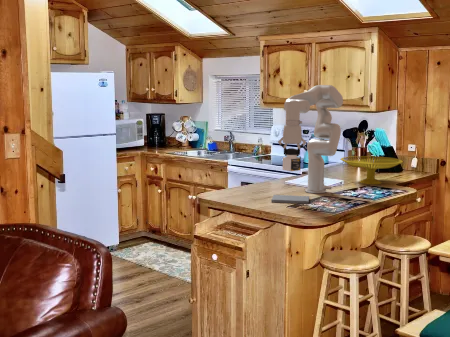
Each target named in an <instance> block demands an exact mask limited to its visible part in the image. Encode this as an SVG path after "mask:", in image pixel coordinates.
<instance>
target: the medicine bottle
mask: <svg viewBox="0 0 450 337" xmlns="http://www.w3.org/2000/svg"><path fill="white" fill-rule="evenodd" d="M286 149H287V150H286V156H283V157H282V170H283V171H286V172H297V171H301V167H302V166H301V163H302V162H301V159H302V157H299V156H297V149H298V148H293V147H292V148H291V147H289V148H286Z"/></svg>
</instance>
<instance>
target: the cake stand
mask: <svg viewBox="0 0 450 337" xmlns="http://www.w3.org/2000/svg"><path fill="white" fill-rule="evenodd" d="M340 160H341V161H342V162H344V163H345V164H347V165H349V166H350V167H353V168H360V169H365V170H366V178H364V179H361V180H359V183H361V184H364V185H381V184H382V181H380V180H378V179H377V178H376V177H375V176H376V170H378V169H383V170H384V169H390V168H394V167H397V166H398V165H400V164H402V163H404V161H403V160H402V159H399V158H395V157H384V156H372V155H371V156H370V155H369V156H367V155H364V156H363V155H362V156H361V155H360V156H359V155H357V156H356V155H355V156H346V157H345V156H344V157H341V158H340Z"/></svg>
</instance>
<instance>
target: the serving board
mask: <svg viewBox="0 0 450 337" xmlns="http://www.w3.org/2000/svg"><path fill="white" fill-rule="evenodd" d="M270 200H271V202H270V203H277V204H278V203H280V204H282V203H283V204H303V205H308V204H309V202H310V196H309V195H308V196H307V195H288V194H287V195H286V194H285V195H284V194H273V195H272V198H271V199H270Z"/></svg>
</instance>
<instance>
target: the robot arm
mask: <svg viewBox="0 0 450 337" xmlns="http://www.w3.org/2000/svg"><path fill="white" fill-rule="evenodd" d="M343 98H344V97H343V95H342V94H341V93H340V91H339V90H338V89H337V88H336V87H335V86H333V85H331V84H318V85H317V84H316V85H315V86H312V87H311V88H310V89H308V90H307V91H304V92H301V93H298V94H297V93H296V94H294V95H291V96H290V97H288V98H287V99H286V100H285V102H284V104H283V108H284V111H285V125H284V126H283V131H282V132H283V133H282V137H281V138H280V139H279V140H278V141H277V143H278V144H279V145H280V147H282V149H283V155H284V157H287V156H286V150H287V149H288V148H287V147H288V146H287V145H296V146H297V148H296V149H297V157H299V156H300V155H301V149H302V148H303V147H304V146H305V145H307V147H306V148H307V150H306V151H307V155H308V156H307V157H308V158H307V161H308V163H307V165H308V166H307V188H305V189H304V192H306V193H309V194H324V193H327V190H332V185H325V160H324V157H333V156H334V155H336V154H337V150H338V147H339V142H340V140H341V134H342V133H341V132H342V130H341V129H342V128H341V126H340V125H339V124H337V123H333V122H332V119H333V116H332V114H331V112H330V110H329V108H330V109H339V108H341V107H342V106H343V105H344V99H343ZM314 105H315V107H316V108H315V109H316V112H317V118H316V122H315V126H314V129H313V136H314V137H315V138H312V139H310V140H308V142H307V141H306V140H305V139H304V137H303V135H302V125H301V124H303V121H302V120H301V118H300V117H301V115H300V114H306V113H308V112H309V111H310V109H311V106H314ZM322 156H323V157H322Z"/></svg>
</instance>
